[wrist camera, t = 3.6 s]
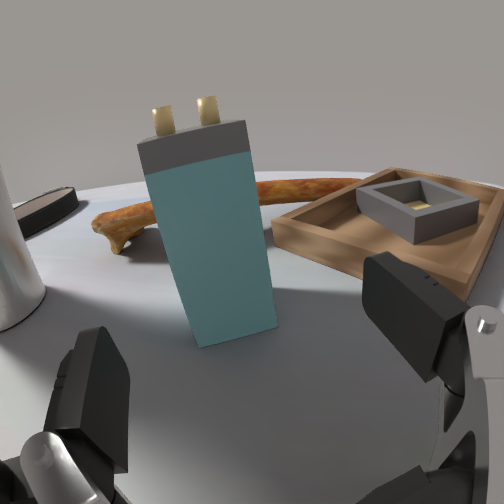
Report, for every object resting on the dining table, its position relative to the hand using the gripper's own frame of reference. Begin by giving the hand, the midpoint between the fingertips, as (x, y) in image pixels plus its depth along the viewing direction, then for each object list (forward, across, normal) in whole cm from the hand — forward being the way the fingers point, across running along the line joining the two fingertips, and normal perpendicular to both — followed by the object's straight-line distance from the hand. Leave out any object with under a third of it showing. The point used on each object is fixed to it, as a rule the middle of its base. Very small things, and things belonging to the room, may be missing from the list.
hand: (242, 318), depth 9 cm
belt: (+63, +42, +8) cm, 76 cm away
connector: (+10, 0, +7) cm, 12 cm away
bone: (+25, -4, +8) cm, 26 cm away
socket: (+15, -21, +6) cm, 26 cm away
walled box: (+15, -20, +7) cm, 26 cm away
